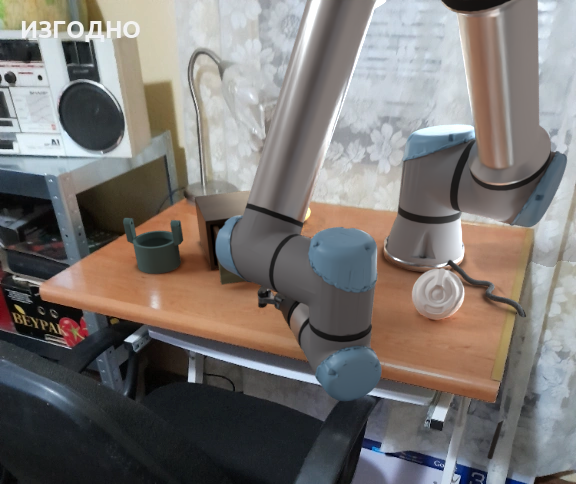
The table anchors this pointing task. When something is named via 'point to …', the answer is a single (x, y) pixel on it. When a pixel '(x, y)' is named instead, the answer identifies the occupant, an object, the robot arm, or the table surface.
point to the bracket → (156, 247)
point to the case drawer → (225, 275)
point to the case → (217, 216)
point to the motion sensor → (438, 294)
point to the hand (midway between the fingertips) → (270, 250)
